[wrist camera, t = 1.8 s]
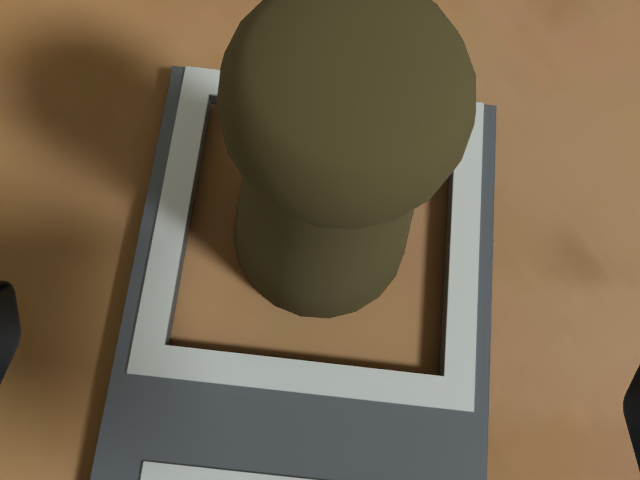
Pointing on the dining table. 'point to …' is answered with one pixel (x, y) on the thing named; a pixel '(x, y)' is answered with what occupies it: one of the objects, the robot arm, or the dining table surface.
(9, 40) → the dining table surface
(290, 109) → the olive game pawn
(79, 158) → the dining table surface
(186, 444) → the label plate
